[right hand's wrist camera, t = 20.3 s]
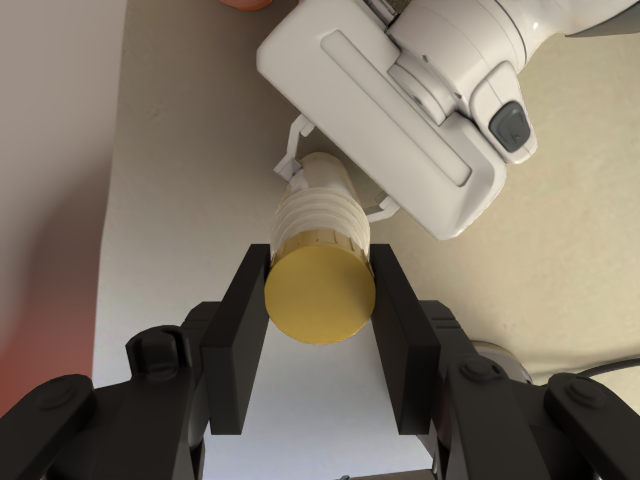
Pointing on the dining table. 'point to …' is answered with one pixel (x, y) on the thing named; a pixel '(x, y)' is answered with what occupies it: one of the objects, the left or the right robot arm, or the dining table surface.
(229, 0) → the cup with straw
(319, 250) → the cap
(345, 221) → the bottle
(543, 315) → the dining table surface
